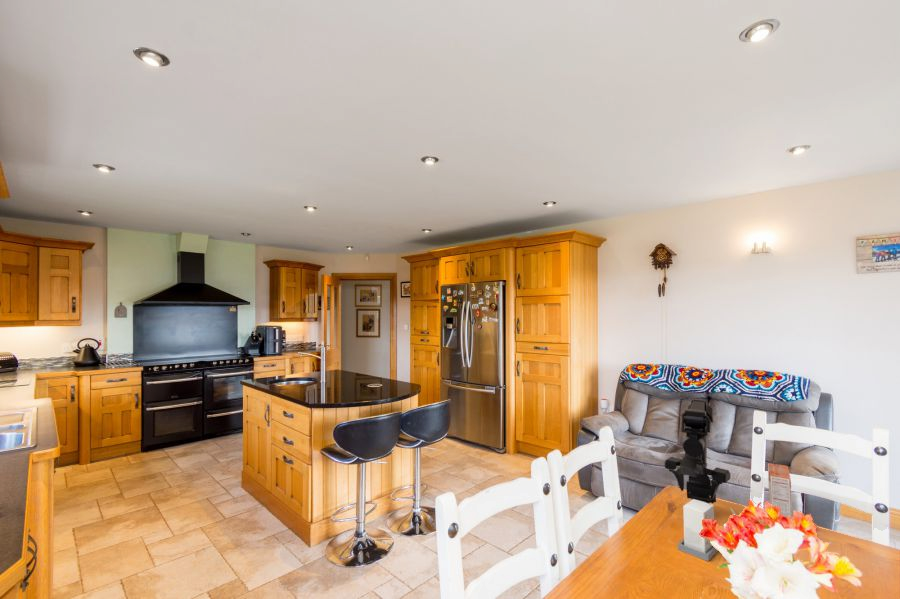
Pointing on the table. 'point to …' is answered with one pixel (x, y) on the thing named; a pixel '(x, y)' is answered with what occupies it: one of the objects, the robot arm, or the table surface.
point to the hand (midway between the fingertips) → (696, 494)
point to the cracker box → (780, 488)
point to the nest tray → (696, 551)
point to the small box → (696, 524)
